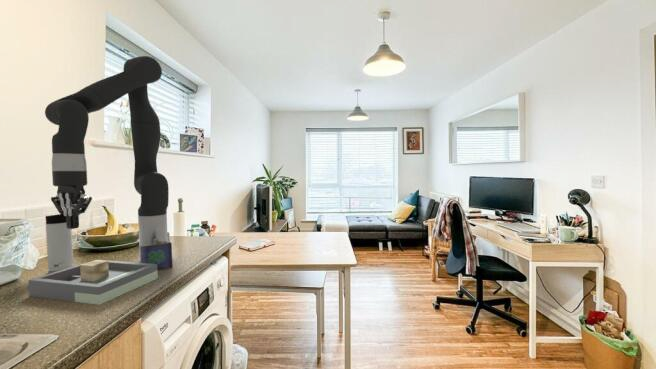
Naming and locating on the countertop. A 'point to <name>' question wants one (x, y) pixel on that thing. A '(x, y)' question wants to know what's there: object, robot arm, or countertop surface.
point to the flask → (157, 254)
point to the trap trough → (93, 283)
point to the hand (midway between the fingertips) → (72, 228)
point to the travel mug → (58, 243)
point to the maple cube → (94, 270)
